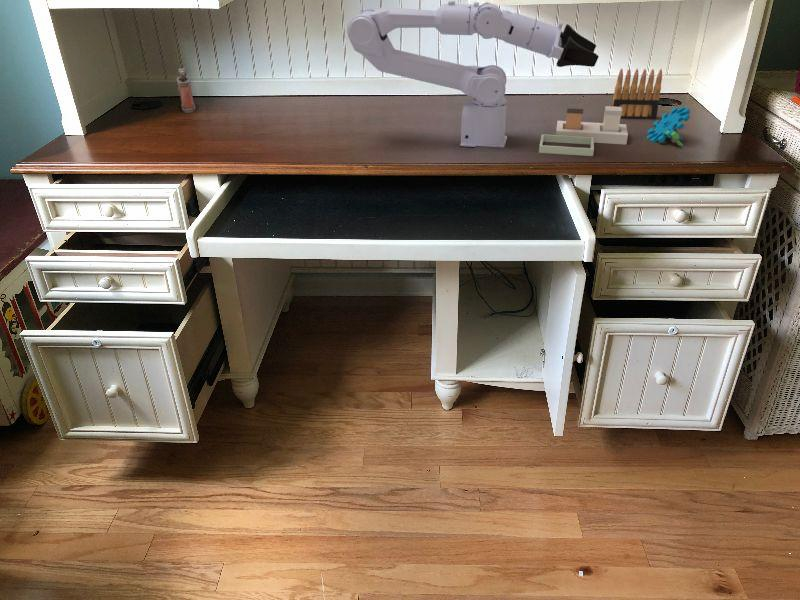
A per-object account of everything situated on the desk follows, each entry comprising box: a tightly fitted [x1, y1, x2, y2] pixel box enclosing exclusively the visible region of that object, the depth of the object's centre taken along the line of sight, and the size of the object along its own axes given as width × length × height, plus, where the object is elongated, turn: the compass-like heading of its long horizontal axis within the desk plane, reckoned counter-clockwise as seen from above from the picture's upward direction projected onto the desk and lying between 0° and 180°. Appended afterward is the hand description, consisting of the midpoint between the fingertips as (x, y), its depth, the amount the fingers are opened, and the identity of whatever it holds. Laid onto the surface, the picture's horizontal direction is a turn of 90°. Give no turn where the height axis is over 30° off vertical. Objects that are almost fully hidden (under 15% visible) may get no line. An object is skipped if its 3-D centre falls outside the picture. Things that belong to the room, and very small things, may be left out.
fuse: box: [602, 105, 622, 132], centre depth 140 cm, size 3×3×6 cm
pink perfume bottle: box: [176, 68, 196, 113], centre depth 167 cm, size 8×3×10 cm, turn 17°
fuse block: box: [555, 120, 629, 146], centre depth 142 cm, size 15×8×3 cm, turn 76°
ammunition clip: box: [611, 68, 663, 120], centre depth 152 cm, size 11×2×12 cm, turn 82°
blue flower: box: [646, 105, 691, 147], centre depth 139 cm, size 11×6×10 cm
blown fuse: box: [565, 103, 585, 130], centre depth 142 cm, size 3×3×6 cm
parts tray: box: [538, 133, 595, 157], centre depth 136 cm, size 11×8×2 cm
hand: (595, 55), depth 129 cm, fingers open, 7 cm apart
